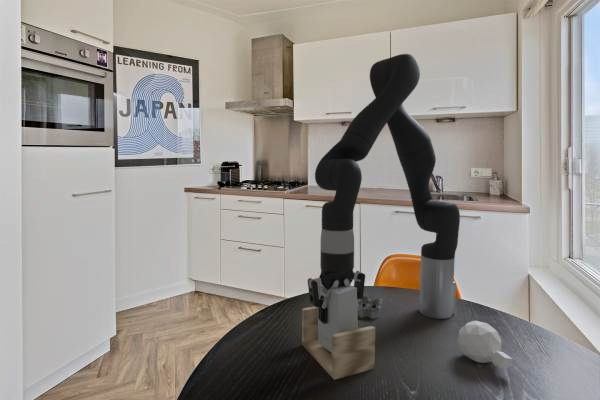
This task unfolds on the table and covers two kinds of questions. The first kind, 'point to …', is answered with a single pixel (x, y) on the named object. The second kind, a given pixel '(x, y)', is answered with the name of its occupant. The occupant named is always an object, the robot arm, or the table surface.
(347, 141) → the robot arm
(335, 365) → the holder
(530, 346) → the table surface
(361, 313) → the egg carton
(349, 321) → the skincare box
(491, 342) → the perfume bottle
